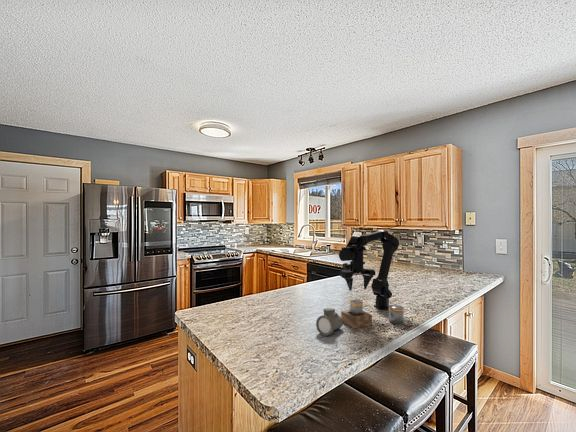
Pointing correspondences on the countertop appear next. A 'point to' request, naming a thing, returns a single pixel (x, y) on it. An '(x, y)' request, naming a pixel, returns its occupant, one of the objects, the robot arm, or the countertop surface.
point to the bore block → (356, 319)
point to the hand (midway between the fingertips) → (357, 289)
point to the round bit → (396, 314)
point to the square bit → (356, 307)
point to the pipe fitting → (328, 322)
